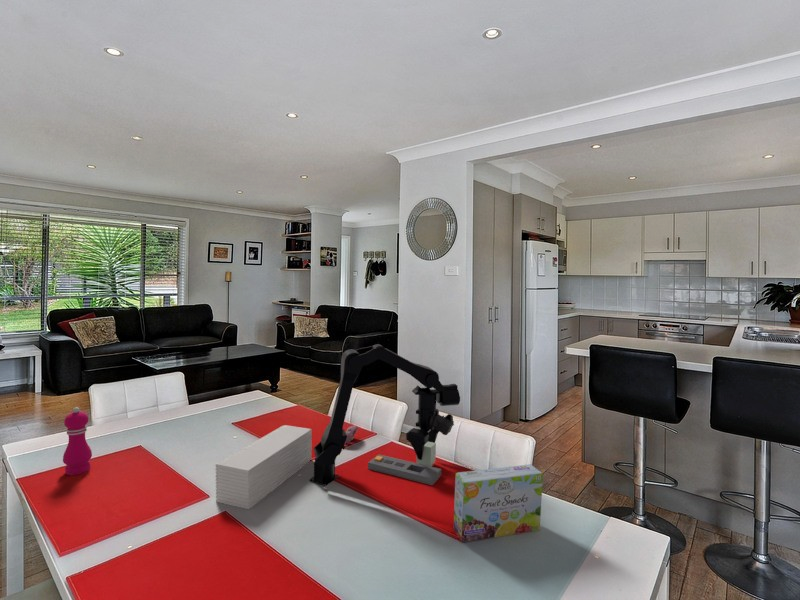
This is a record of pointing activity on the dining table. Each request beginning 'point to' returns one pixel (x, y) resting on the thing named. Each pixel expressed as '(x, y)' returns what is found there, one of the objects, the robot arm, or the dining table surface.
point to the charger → (428, 454)
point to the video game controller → (350, 433)
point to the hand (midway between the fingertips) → (426, 454)
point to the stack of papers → (262, 466)
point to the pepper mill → (76, 443)
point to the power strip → (405, 469)
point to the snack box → (497, 502)
